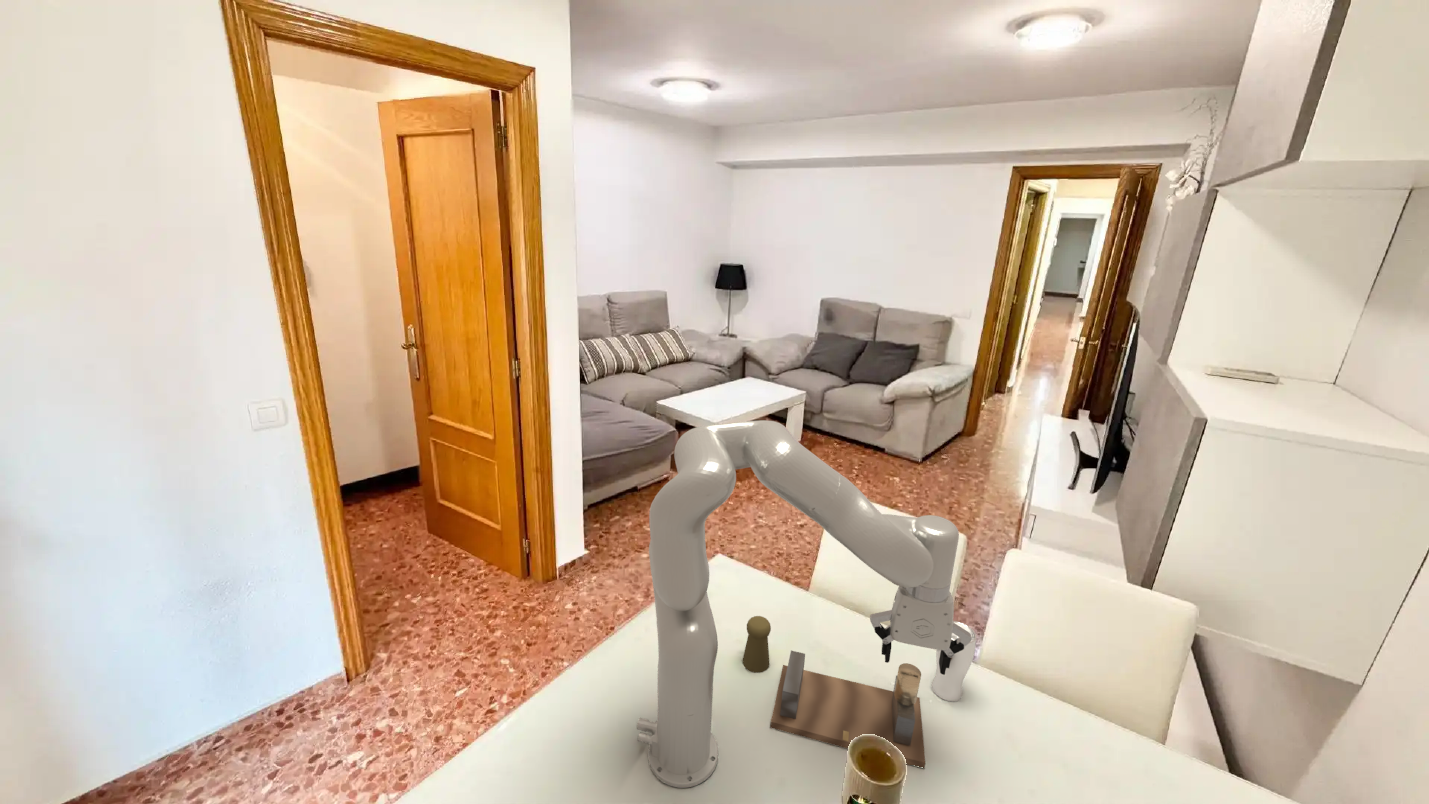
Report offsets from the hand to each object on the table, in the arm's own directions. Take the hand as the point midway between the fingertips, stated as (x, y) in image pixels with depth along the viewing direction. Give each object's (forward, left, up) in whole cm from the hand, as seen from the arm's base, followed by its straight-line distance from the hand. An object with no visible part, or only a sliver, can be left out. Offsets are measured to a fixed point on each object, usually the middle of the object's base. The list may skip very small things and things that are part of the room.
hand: (913, 663), depth 102 cm
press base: (-10, 0, -16) cm, 19 cm away
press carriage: (0, 0, -14) cm, 14 cm away
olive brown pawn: (-30, +8, -16) cm, 35 cm away
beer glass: (+10, +13, -16) cm, 22 cm away
